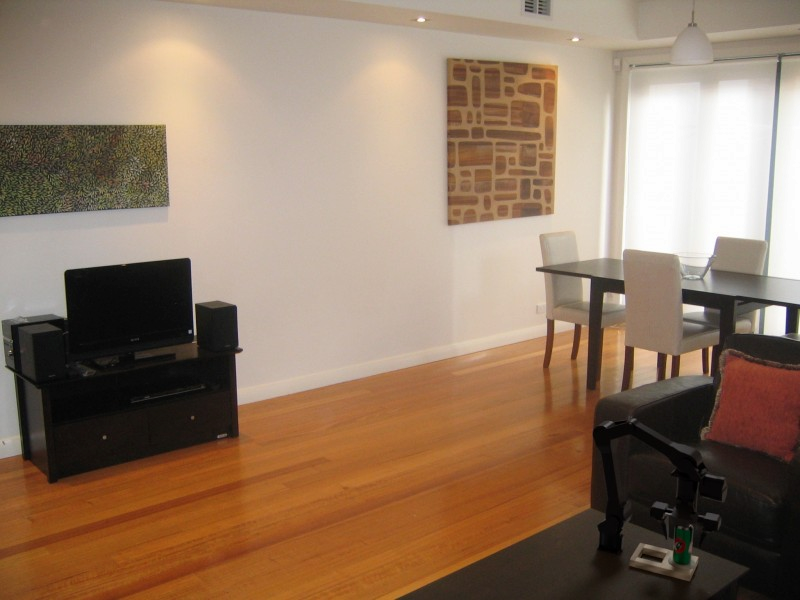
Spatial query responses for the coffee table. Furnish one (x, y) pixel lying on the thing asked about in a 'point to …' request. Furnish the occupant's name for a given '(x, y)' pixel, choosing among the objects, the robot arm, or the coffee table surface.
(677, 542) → the soda can
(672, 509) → the robot arm
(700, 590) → the coffee table surface
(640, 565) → the pocket board
